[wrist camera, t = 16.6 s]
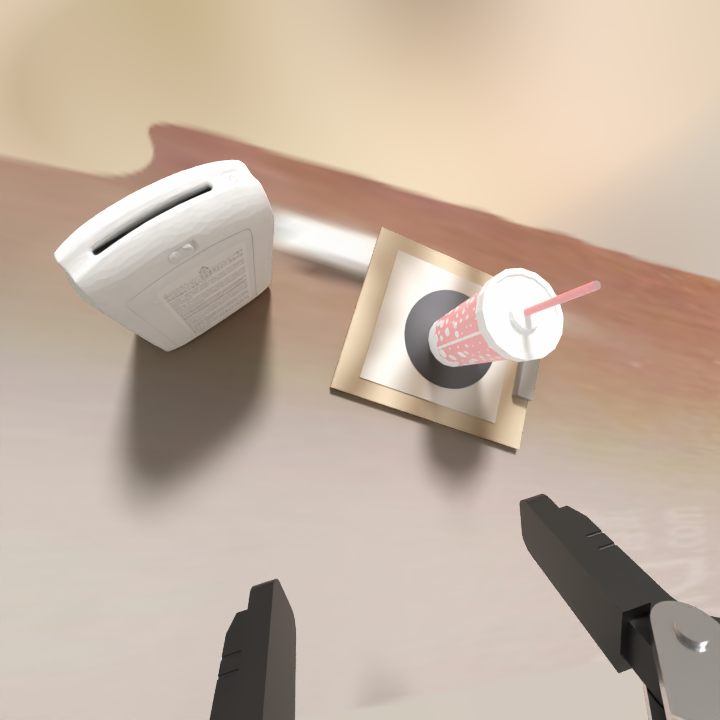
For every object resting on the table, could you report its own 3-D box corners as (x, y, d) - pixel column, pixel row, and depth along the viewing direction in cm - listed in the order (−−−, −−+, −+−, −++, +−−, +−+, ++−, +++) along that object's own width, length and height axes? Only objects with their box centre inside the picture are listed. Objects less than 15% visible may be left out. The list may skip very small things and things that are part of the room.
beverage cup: (491, 361, 31) (661, 323, 18) (436, 385, 29) (578, 363, 16) (466, 299, 31) (614, 215, 18) (409, 320, 30) (526, 243, 16)
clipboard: (329, 387, 28) (332, 386, 26) (380, 229, 31) (384, 222, 30) (515, 448, 31) (525, 450, 30) (542, 301, 34) (552, 297, 33)
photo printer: (246, 242, 28) (230, 116, 16) (280, 284, 28) (289, 191, 16) (127, 315, 25) (-3, 227, 13) (166, 362, 25) (73, 317, 13)
